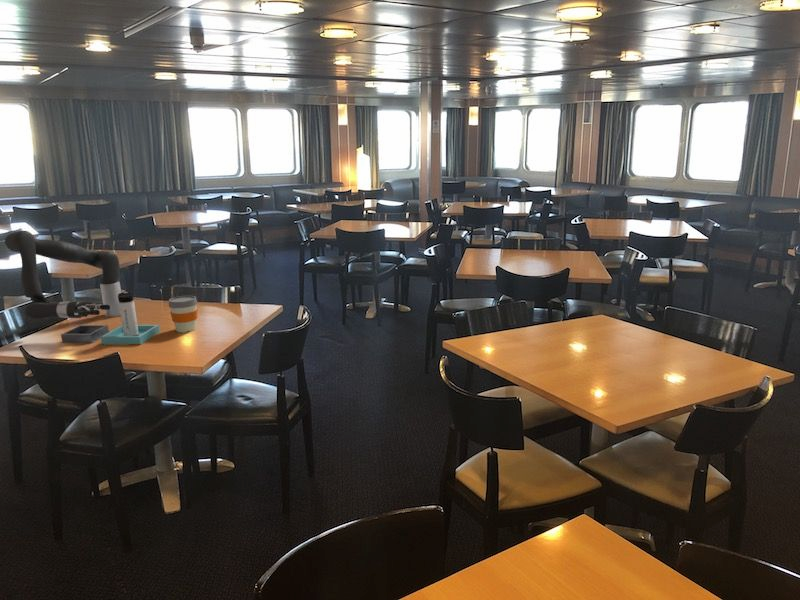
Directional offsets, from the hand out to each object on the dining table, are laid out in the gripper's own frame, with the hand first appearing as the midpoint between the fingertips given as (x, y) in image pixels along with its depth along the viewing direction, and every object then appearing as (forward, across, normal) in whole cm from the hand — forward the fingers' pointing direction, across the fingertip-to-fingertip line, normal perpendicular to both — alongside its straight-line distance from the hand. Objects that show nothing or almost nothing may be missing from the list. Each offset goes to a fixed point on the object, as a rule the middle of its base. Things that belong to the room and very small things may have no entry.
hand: (104, 309), depth 279 cm
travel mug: (+11, 0, +13) cm, 17 cm away
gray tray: (-11, 0, +14) cm, 17 cm away
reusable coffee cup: (+31, +13, +14) cm, 36 cm away
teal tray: (+11, 0, +14) cm, 17 cm away
